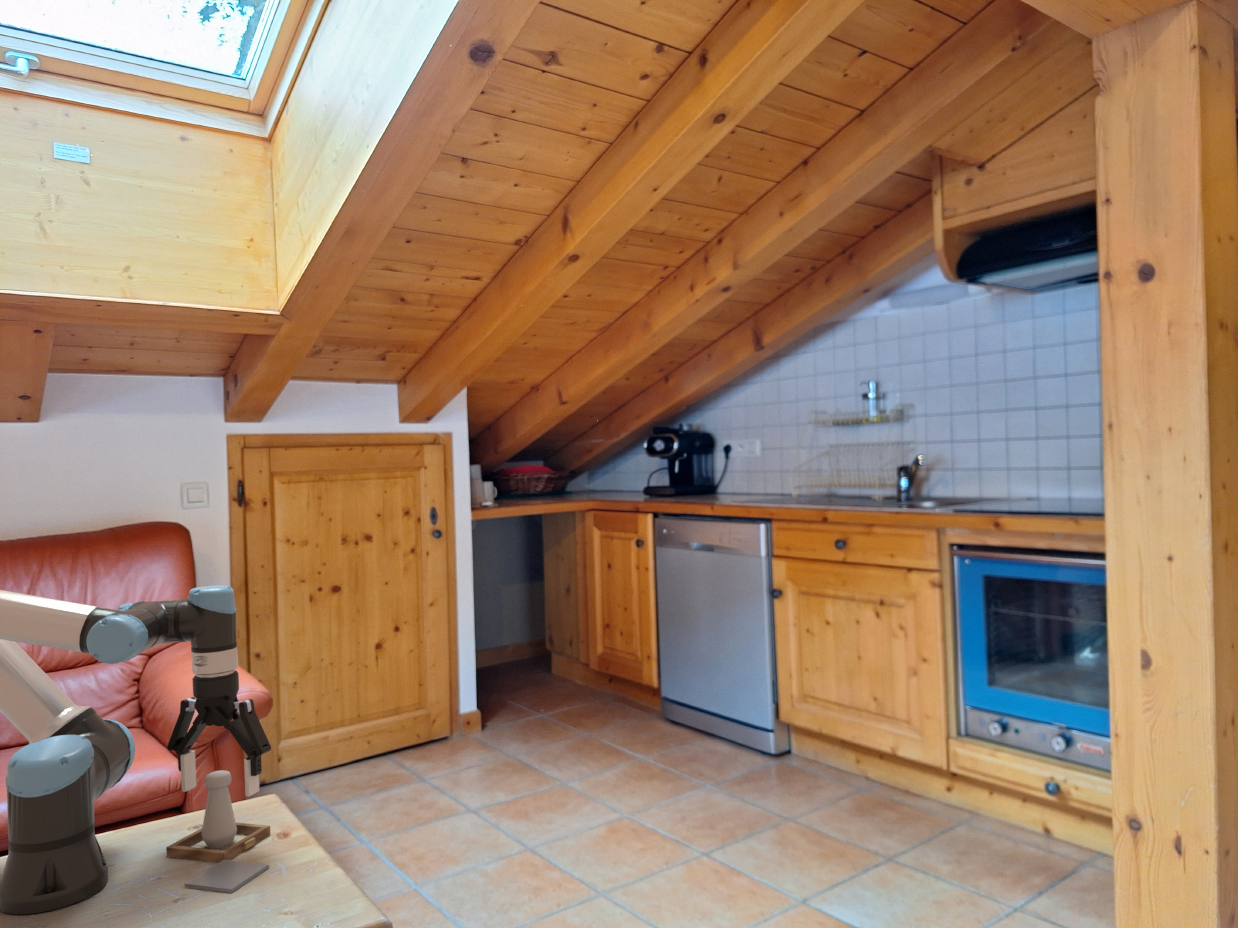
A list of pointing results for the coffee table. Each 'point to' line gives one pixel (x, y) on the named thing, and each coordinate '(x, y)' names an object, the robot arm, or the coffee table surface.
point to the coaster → (227, 876)
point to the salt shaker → (218, 812)
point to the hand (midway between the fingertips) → (220, 791)
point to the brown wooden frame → (185, 851)
